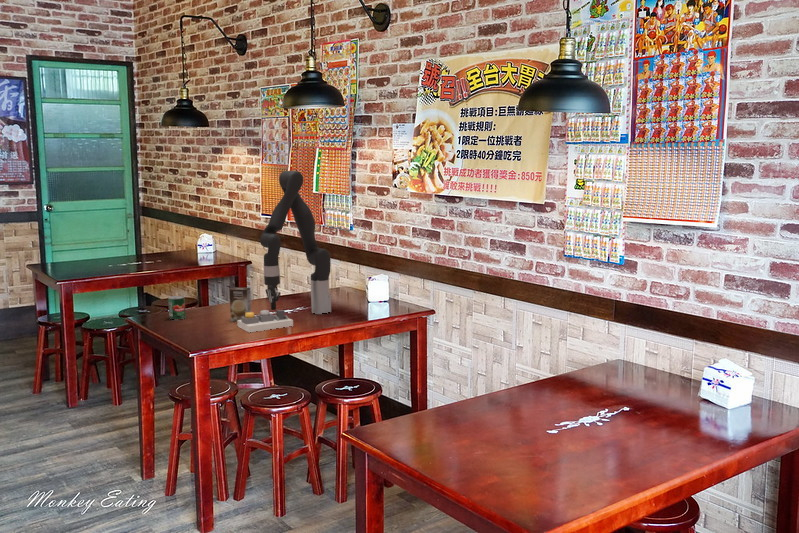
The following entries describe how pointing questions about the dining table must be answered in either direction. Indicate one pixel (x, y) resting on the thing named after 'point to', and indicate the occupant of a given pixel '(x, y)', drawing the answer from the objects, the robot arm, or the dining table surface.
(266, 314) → the grey switch
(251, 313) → the amber button
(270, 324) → the control panel
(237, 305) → the coffee box
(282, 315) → the dark grey cube
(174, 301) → the canned tomato
